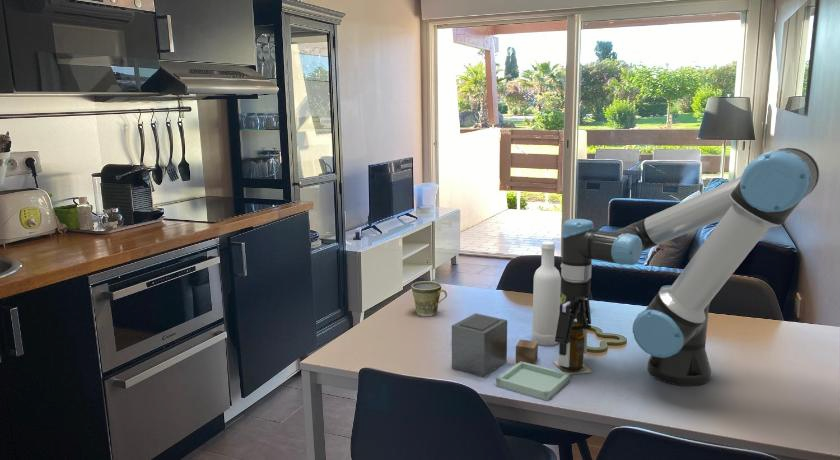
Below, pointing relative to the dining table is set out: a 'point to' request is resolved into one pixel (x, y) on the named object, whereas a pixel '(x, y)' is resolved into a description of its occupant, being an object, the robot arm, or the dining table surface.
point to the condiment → (576, 351)
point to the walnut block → (527, 351)
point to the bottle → (546, 298)
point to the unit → (479, 344)
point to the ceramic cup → (427, 297)
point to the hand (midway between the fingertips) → (572, 358)
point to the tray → (533, 380)
